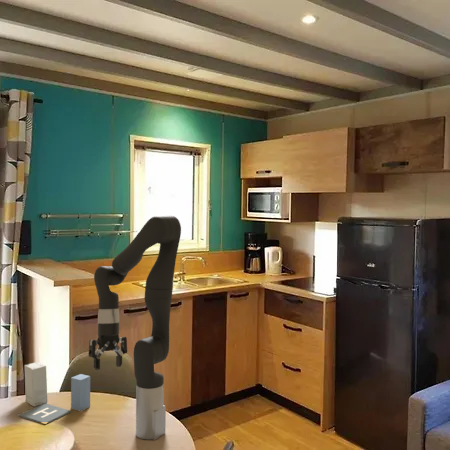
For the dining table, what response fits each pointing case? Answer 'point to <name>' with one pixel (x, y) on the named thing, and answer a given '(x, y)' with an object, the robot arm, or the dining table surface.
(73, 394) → the blue block
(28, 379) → the skincare box
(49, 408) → the letter mat
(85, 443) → the dining table surface
